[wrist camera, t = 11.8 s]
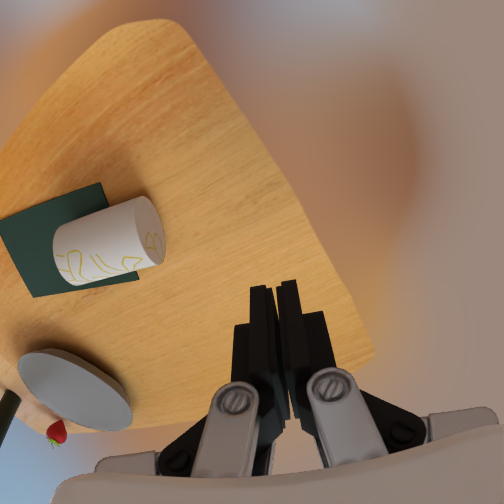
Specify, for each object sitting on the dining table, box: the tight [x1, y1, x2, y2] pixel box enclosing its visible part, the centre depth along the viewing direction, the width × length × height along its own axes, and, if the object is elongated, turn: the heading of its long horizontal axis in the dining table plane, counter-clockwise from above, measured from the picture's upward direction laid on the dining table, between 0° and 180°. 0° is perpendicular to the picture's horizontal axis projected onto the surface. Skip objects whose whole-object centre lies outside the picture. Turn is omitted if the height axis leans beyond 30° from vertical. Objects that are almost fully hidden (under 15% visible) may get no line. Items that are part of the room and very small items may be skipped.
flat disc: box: [18, 348, 133, 431], centre depth 57 cm, size 28×28×4 cm
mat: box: [0, 182, 139, 298], centre depth 41 cm, size 15×23×1 cm, turn 102°
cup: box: [53, 196, 166, 286], centre depth 36 cm, size 8×8×12 cm
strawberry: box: [46, 420, 67, 446], centre depth 66 cm, size 6×8×10 cm
